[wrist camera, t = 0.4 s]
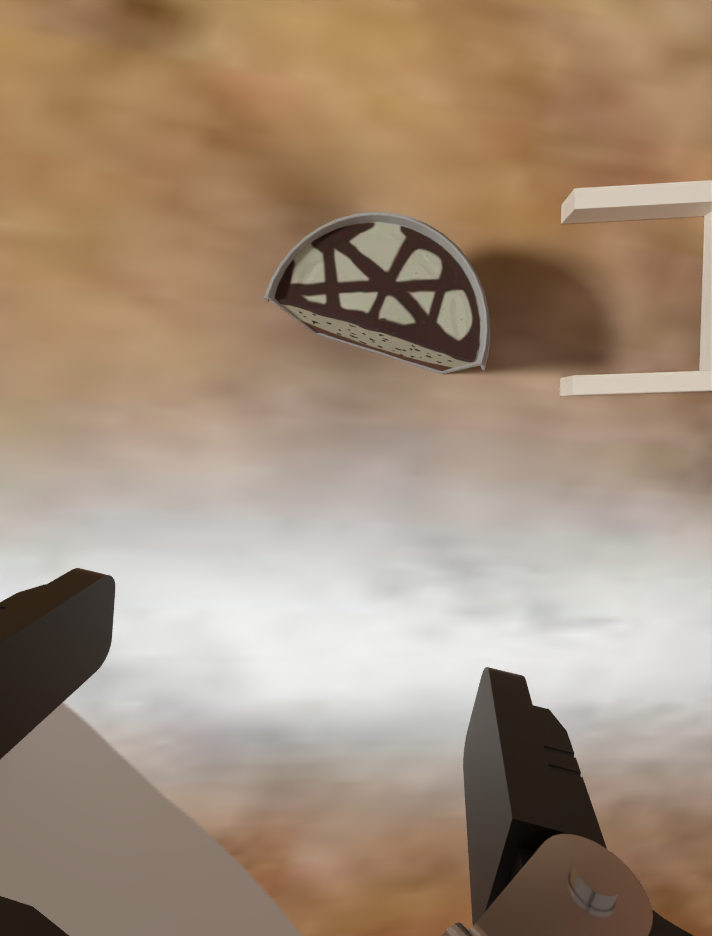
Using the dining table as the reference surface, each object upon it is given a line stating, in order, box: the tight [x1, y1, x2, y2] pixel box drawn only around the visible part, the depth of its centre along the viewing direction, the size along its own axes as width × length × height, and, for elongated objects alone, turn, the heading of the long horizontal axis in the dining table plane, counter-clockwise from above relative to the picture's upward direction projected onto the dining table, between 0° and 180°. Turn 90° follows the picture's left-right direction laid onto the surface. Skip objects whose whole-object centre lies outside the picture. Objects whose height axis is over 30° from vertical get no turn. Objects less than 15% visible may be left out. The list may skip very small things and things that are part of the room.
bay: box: [560, 180, 712, 396], centre depth 33 cm, size 12×10×2 cm
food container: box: [264, 212, 491, 374], centre depth 31 cm, size 12×6×10 cm, turn 72°
